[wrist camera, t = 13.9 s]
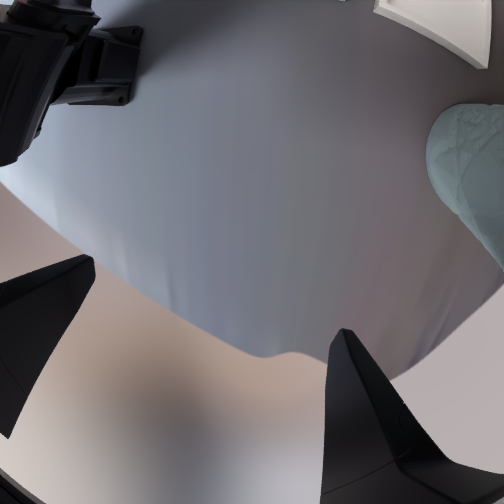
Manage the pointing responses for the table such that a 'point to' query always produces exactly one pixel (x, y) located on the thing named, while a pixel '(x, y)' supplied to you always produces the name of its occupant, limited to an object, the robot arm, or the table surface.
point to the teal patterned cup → (471, 169)
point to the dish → (446, 24)
